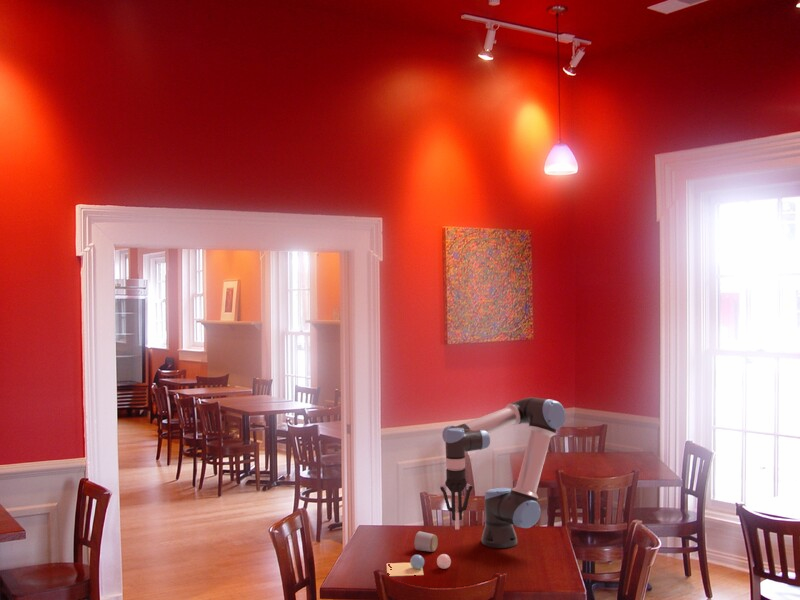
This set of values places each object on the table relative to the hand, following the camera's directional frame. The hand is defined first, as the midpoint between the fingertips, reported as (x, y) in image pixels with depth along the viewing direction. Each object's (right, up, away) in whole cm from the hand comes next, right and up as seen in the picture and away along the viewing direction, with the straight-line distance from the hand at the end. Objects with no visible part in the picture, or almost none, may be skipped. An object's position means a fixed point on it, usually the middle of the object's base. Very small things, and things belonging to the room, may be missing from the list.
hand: (457, 528), depth 306 cm
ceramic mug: (-11, -16, +22) cm, 30 cm away
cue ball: (-5, -13, -1) cm, 14 cm away
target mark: (-21, -16, -1) cm, 26 cm away
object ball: (-16, -13, -1) cm, 20 cm away
